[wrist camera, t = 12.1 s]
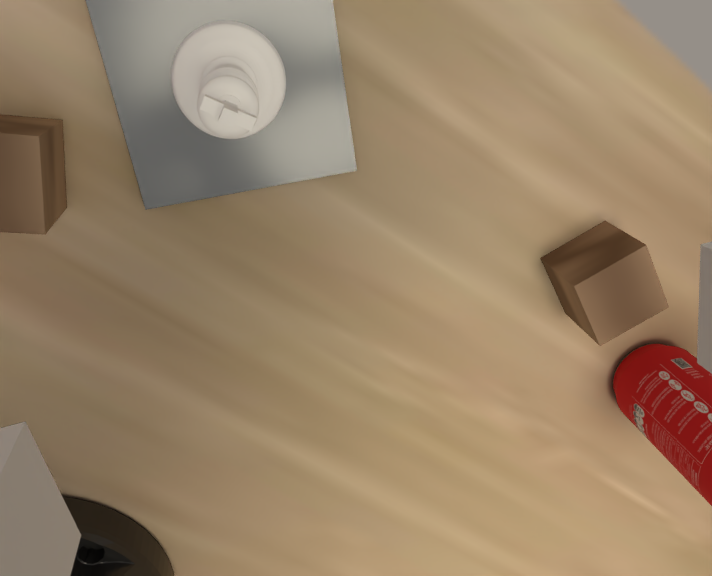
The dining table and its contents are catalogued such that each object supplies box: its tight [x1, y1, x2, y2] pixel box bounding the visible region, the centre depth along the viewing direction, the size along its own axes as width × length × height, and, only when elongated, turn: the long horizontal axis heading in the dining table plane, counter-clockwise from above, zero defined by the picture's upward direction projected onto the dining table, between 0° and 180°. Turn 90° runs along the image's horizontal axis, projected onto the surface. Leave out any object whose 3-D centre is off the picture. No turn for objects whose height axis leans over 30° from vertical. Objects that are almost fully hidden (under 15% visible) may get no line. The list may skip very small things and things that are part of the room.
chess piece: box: [171, 21, 286, 139], centre depth 24 cm, size 5×5×10 cm
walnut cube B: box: [0, 115, 67, 234], centre depth 28 cm, size 4×4×4 cm
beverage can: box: [613, 343, 712, 506], centre depth 35 cm, size 5×5×12 cm
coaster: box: [86, 0, 357, 209], centre depth 29 cm, size 10×10×1 cm
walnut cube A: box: [541, 221, 669, 346], centre depth 35 cm, size 4×4×4 cm
